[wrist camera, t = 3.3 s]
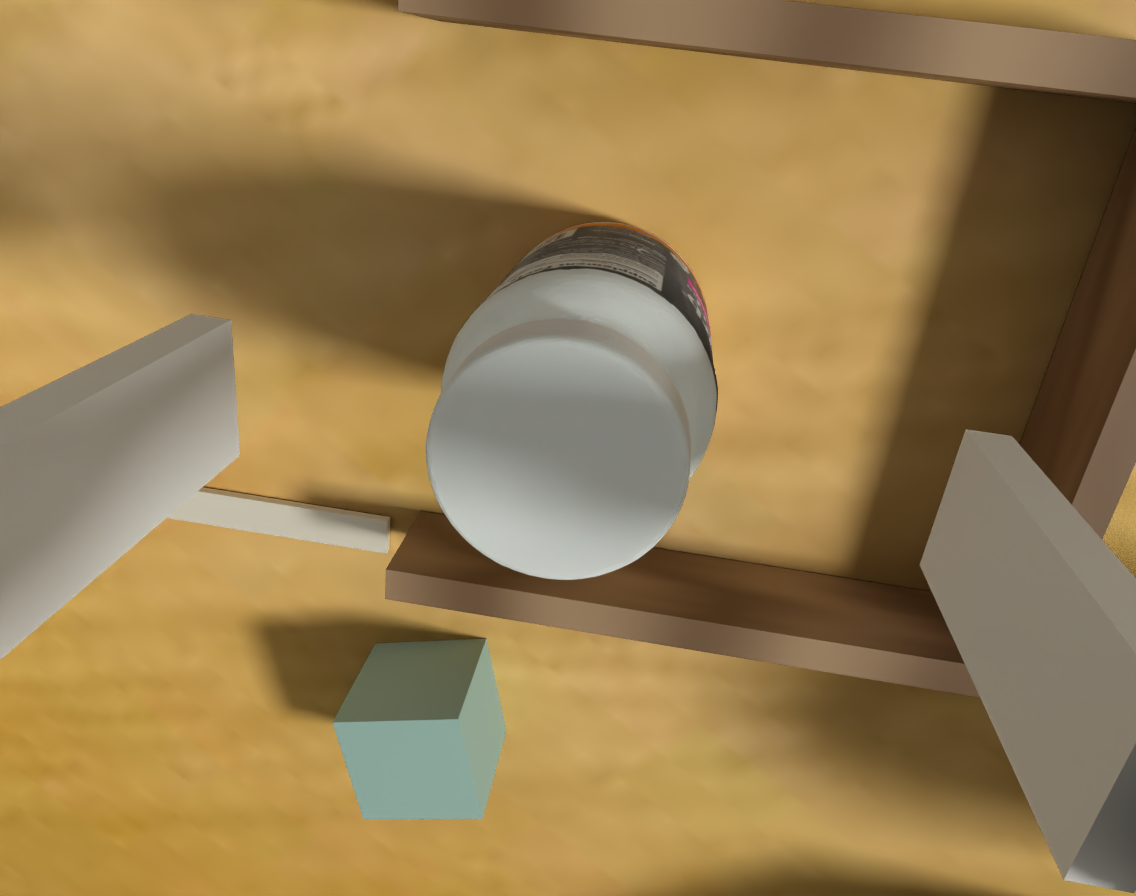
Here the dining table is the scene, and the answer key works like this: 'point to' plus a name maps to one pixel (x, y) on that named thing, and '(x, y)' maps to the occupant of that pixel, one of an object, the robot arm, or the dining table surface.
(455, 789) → the teal block
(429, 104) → the dining table surface
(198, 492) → the strip
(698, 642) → the cubby
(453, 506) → the pill bottle
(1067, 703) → the robot arm
